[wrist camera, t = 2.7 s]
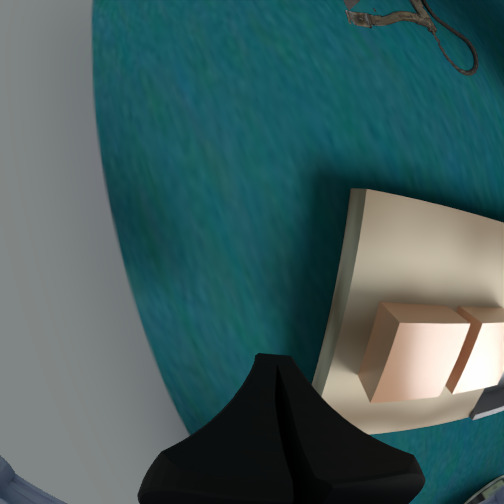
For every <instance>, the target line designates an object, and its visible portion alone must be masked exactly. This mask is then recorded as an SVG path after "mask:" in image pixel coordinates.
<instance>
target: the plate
mask: <svg viewBox="0 0 504 504" xmlns="http://www.w3.org/2000/svg"><path fill="white" fill-rule="evenodd" d="M380 301H381V302H395V303H411V304H429V305H447V306H448V307H449V308H451V309H452V310H453V311H455V312H457V309H458V306H475V307H502V308H504V223H503V222H499V221H496V220H493V219H490V218H486V217H483V216H479V215H476V214H472V213H469V212H465V211H462V210H458V209H454V208H450V207H446V206H442V205H438V204H434V203H430V202H426V201H422V200H417V199H413V198H409V197H404V196H399V195H395V194H390V193H385V192H380V191H375V190H370V189H355V188H351V191H350V199H349V207H348V214H347V221H346V227H345V234H344V240H343V246H342V252H341V258H340V264H339V269H338V274H337V280H336V285H335V290H334V295H333V300H332V304H331V309H330V314H329V318H328V322H327V327H326V331H325V335H324V340H323V344H322V348H321V352H320V356H319V360H318V363H317V367H316V371H315V375H314V378H313V382H312V386H313V387H314V389H315V390H316V391H317V392H318V393H319V395H320V396H321V397H322V398H323V399H324V400H325V401H326V402H327V403H328V404H329V405H330V406H331V407H332V408H333V409H334V410H335V411H336V412H338V413H339V414H340V415H341V416H342V417H343V418H345V419H346V420H347V421H349V422H350V423H351V424H353V425H354V426H356V427H357V428H359V429H360V430H362V431H363V432H365V433H366V434H378V433H387V432H395V431H402V430H409V429H415V428H421V427H427V426H432V425H437V424H442V423H446V422H451V421H455V420H459V419H463V418H467V417H469V415H470V414H471V412H472V410H473V408H474V407H475V405H476V403H477V401H478V400H479V398H480V396H481V394H482V392H483V390H484V389H485V388H482V389H477V390H473V391H468V392H462V393H457V394H451V392H450V391H449V390H448V389H447V387H446V386H444V388H443V390H442V392H441V394H440V396H439V397H432V398H424V399H416V400H407V401H396V402H383V403H370V402H369V399H368V397H367V395H366V393H365V390H364V388H363V386H362V384H361V382H360V379H359V377H358V373H359V370H360V367H361V364H362V361H363V358H364V355H365V351H366V348H367V345H368V342H369V338H370V335H371V332H372V328H373V325H374V321H375V317H376V314H377V310H378V306H379V302H380Z"/></svg>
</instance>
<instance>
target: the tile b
mask: <svg viewBox="0 0 504 504" xmlns="http://www.w3.org/2000/svg"><path fill="white" fill-rule="evenodd" d="M456 313H457V314H459V315H460V316H461V317H463V318H464V319H465V320H467V321H468V322H469V323H471V324H470V327H469V329H468V332H467V335H466V338H465V340H464V343H463V345H462V348H461V350H460V353H459V355H458V358H457V360H456V362H455V365H454V367H453V369H452V372H451V374H450V376H449V378H448V380H447V382H446V384H445V386H446V387H447V389H448V390H449V391H450V392H451V394H457V393H462V392H468V391H473V390H477V389H482V388H486V387H491V386H495V385H497V384H498V382H499V380H500V378H501V376H502V374H503V372H504V308H502V307H475V306H458V309H457V312H456Z"/></svg>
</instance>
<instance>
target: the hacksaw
mask: <svg viewBox="0 0 504 504" xmlns="http://www.w3.org/2000/svg"><path fill="white" fill-rule="evenodd" d="M343 1H345V2H344V3H345V5H346V6H347V8H348V10H350V9H351V8H352V7H353V6H354V5H355V4H357V3H358V2H359V1H360V0H343ZM410 2H411V3H412V5H413V6H414V8H415V10H416V12H417V13H411V12H406V11H399V12H393V13H391V14H390V15H387V16H383V17H381V15H379V16H373V15H371V14H367V13H359V12H350V11H347V10H346V11H345V12H346V14H347V18H348V22H349V23H350V24H351V21H350V19H351V20H352V22H353V23H354V24H355V25H358V26H364V27H369V28H372V25H374V26H375V25H377V26H384V25H389V24H392V23H395V22H398V21H411V22H415V23H417V24H419V25H422V26H425V27H427V28H428V29H429V30H428V31H429V32H431V31H432V34H433V35H434V37H435V39H436V41H437V42H439V43H440V41H439V39H438V38H437V37H436V35H435V32H436V31H437V29H436V27H435V25H434V24H433V22H432V21H431V20H430V19H431V17H429V15H428V13H427V12H426V11H425V10H424V8H423V4H424V6H425V7H426V8H427V10H428V12H429V13H430V14H431V15H432V17H434V18H435V20H436V21H438V22H439V23H440V24H441V25H443V26H445V27H446V28H447V29H448V30H450V31H451V32H453V33H454V34H455V35H457V36H459V37H460V38H461V39H463V40H464V41H465V42H466V43H467V44H468V45H469V47H470V48H471V51H472V53H473V56H474V67H473V69H471V70H470V71H464V70H462V69H459V68H458V67H457V66H456V65H455V64H454V63H453V62H452V61H451V60H450V59H449V57H448V56H447V55H446V54H445V52H444V49H443V48H442V47H441V45H440V44H439V43H438V45H439V47H440V49H441V51H442V52H443V54H444V56H445V57H446V59H447V60H448V61H449V62H450V63H451V64H452V65H453V66H454V67H455V68H456V69H457V70H458V71H459V72H460V73H462V74H464V75H473V74H474V73H476V71H477V69H478V56H477V53H476V50H475V48H474V46H473V45H472V43H471V42H470V41H469V40H468V39H467V38H466V37H465V36H463V35H462V34H461V33H459V32H457V31H456V30H454V29H453V28H452V27H450V26H449V25H448V24H446V23H444V22H443V21H442V20H440V18H438V17H437V16H436V15H435V14H434V13H433V12H432V10H431V8H430V7H429V5H428V4H427V2H426V0H422V2H423V4H422V2H421V1H420V0H410ZM374 11H375V12H376V10H375V9H374Z"/></svg>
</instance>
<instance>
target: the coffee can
mask: <svg viewBox="0 0 504 504" xmlns="http://www.w3.org/2000/svg"><path fill="white" fill-rule="evenodd" d="M503 485H504V475H502V476H500V477H498V478H496V479H495V480H493V481H492V482H490V483H489V484H487V485H486V486H484V487H483V488H482V489H480V490H479V491H478V492H477V493H475V494H474V495H473V496H472V497H470V498H469V499H468V500H467V501H466V502H465V503H464V504H478V503H480V502H482V501H484V500H486V499H488V498H490V497H491V496H493V495H495V493H496V492H497V491H498V490H499V489H500V488H501V487H502V486H503Z"/></svg>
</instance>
